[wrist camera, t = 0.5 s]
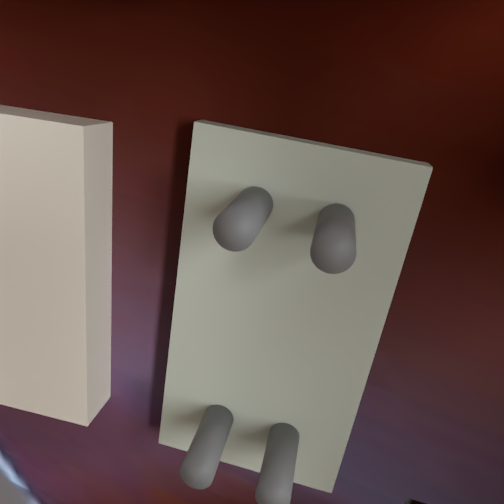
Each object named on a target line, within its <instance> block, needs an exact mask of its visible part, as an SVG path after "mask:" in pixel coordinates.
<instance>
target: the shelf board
mask: <svg viewBox="0 0 504 504" xmlns="http://www.w3.org/2000/svg"><path fill="white" fill-rule="evenodd" d="M112 154H113V122H110V121H103V120H96V119H90V118H83V117H77V116H70V115H64V114H57V113H51V112H44V111H37V110H31V109H24V108H18V107H11V106H5V105H0V404H2V405H6V406H9V407H13V408H17V409H21V410H25V411H29V412H33V413H37V414H41V415H45V416H49V417H52V418H56V419H60V420H64V421H68V422H72V423H76V424H80V425H84V426H88V425H89V424H90V423H91V421H92V420H93V419H94V417H95V416H96V415H97V414H98V412H99V411H100V410H101V408H102V407H103V406H104V404H105V403H106V402H107V401H108V399H109V398H110V387H111V270H112Z"/></svg>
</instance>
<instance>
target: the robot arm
mask: <svg viewBox="0 0 504 504" xmlns="http://www.w3.org/2000/svg"><path fill="white" fill-rule="evenodd" d="M404 504H426V503H422V502H419V501H416V500H413V499H408V500H406V501H405V503H404Z"/></svg>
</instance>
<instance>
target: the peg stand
mask: <svg viewBox="0 0 504 504" xmlns="http://www.w3.org/2000/svg"><path fill="white" fill-rule="evenodd" d="M432 169H433V167H432V166H431V165H430V164H429V163H426V162H421V161H416V160H410V159H405V158H400V157H395V156H390V155H384V154H379V153H374V152H369V151H363V150H358V149H353V148H348V147H343V146H337V145H332V144H327V143H322V142H317V141H311V140H306V139H301V138H296V137H290V136H285V135H280V134H275V133H270V132H264V131H259V130H254V129H249V128H243V127H238V126H233V125H228V124H223V123H217V122H212V121H207V120H199V121H194V126H193V135H192V144H191V153H190V162H189V171H188V180H187V190H186V199H185V208H184V217H183V226H182V235H181V244H180V253H179V262H178V271H177V280H176V289H175V299H174V308H173V317H172V326H171V335H170V344H169V353H168V362H167V371H166V380H165V389H164V398H163V408H162V417H161V426H160V435H159V443H160V444H164V445H167V446H171V447H174V448H177V449H181V450H184V451H188V452H187V454H186V456H185V458H184V461H183V463H182V465H181V467H180V470H179V474H180V477H181V479H182V481H183V482H184V483H185V484H187V485H188V486H190V487H192V488H195V489H205V488H207V487H209V486H210V485H211V484H212V481H213V479H214V476H215V473H216V470H217V467H218V464H219V461H222V462H225V463H229V464H232V465H236V466H239V467H243V468H246V469H249V470H253V471H256V472H260V475H259V479H258V483H257V488H256V492H255V499H256V501H257V503H258V504H290V500H291V493H292V486H293V482H294V483H297V484H301V485H304V486H308V487H311V488H315V489H318V490H321V491H325V492H328V493H332V490H333V487H334V484H335V481H336V477H337V474H338V471H339V468H340V465H341V461H342V458H343V455H344V452H345V449H346V445H347V442H348V439H349V436H350V433H351V429H352V426H353V423H354V420H355V417H356V413H357V410H358V407H359V404H360V400H361V397H362V394H363V391H364V388H365V384H366V381H367V378H368V375H369V372H370V368H371V365H372V362H373V359H374V356H375V352H376V349H377V346H378V343H379V340H380V336H381V333H382V330H383V327H384V323H385V320H386V317H387V314H388V311H389V307H390V304H391V301H392V298H393V295H394V291H395V288H396V285H397V282H398V279H399V275H400V272H401V269H402V266H403V262H404V259H405V256H406V253H407V250H408V246H409V243H410V240H411V237H412V234H413V230H414V227H415V224H416V221H417V218H418V214H419V211H420V208H421V205H422V202H423V198H424V195H425V192H426V189H427V185H428V182H429V179H430V176H431V173H432Z"/></svg>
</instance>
